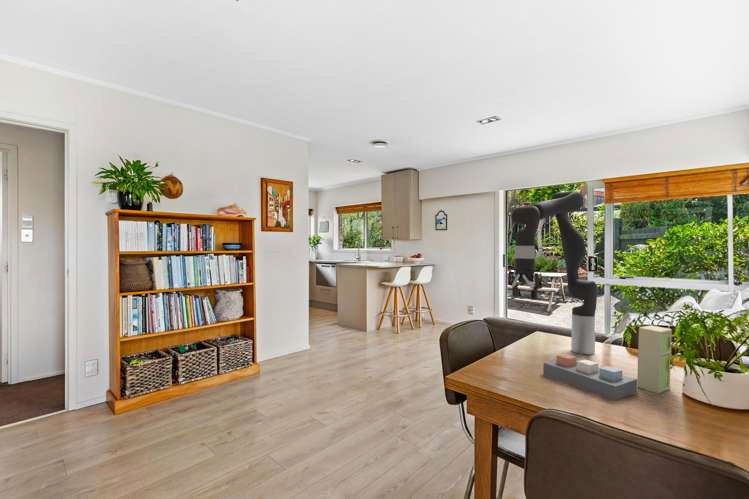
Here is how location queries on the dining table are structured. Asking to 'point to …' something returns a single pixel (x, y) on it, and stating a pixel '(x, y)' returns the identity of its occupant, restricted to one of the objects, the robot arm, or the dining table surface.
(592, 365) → the ivory key
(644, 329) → the toy refrigerator
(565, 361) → the terracotta key
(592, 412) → the dining table surface
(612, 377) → the blue key
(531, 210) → the robot arm
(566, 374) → the console
